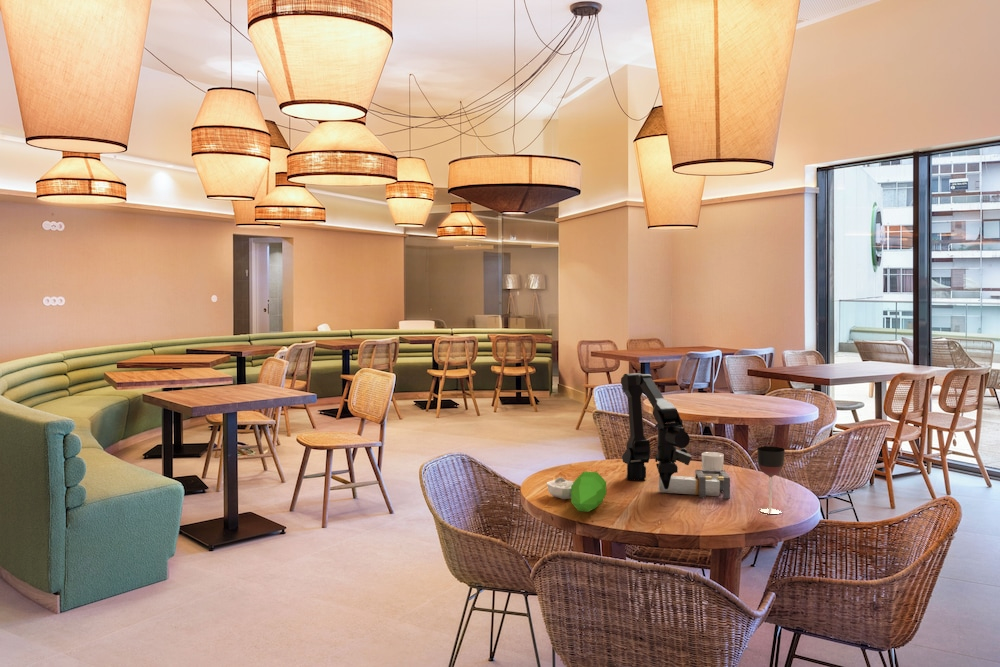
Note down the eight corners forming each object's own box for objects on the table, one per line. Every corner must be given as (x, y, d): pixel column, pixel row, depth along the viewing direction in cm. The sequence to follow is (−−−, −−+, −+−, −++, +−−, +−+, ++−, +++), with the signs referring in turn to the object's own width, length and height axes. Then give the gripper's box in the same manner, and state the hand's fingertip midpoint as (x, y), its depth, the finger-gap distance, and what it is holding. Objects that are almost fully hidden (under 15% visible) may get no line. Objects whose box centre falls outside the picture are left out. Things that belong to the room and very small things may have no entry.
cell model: (554, 504, 243) (554, 483, 243) (542, 494, 254) (542, 475, 254) (583, 501, 246) (583, 481, 245) (570, 492, 257) (570, 473, 257)
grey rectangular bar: (659, 492, 253) (660, 477, 253) (658, 488, 258) (659, 474, 257) (719, 496, 251) (720, 481, 250) (717, 492, 255) (718, 478, 255)
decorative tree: (602, 462, 249) (590, 480, 220) (615, 494, 248) (604, 516, 219) (571, 473, 252) (555, 492, 223) (584, 504, 251) (569, 528, 222)
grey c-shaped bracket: (699, 498, 249) (699, 476, 248) (695, 489, 259) (695, 469, 259) (729, 498, 247) (730, 477, 247) (724, 490, 258) (724, 470, 258)
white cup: (726, 483, 268) (726, 456, 267) (704, 483, 268) (704, 456, 267) (720, 478, 276) (720, 451, 275) (699, 478, 276) (699, 451, 275)
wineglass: (788, 511, 233) (789, 448, 232) (777, 517, 227) (777, 453, 226) (763, 506, 238) (764, 445, 237) (752, 512, 232) (752, 449, 231)
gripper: (693, 448, 244) (692, 495, 245) (686, 438, 263) (686, 481, 263) (658, 447, 246) (658, 494, 246) (655, 437, 264) (654, 480, 265)
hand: (665, 487), depth 255 cm, fingers closed on grey rectangular bar, 4 cm apart
